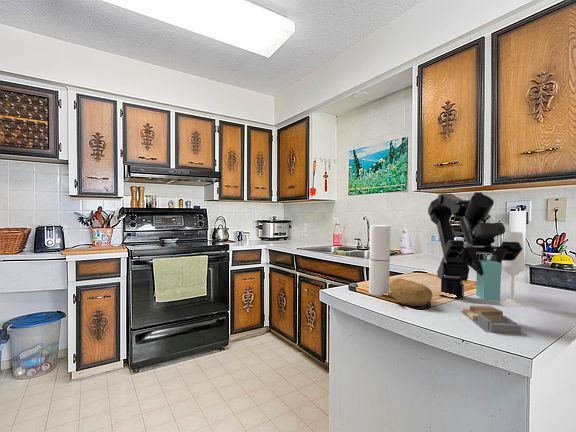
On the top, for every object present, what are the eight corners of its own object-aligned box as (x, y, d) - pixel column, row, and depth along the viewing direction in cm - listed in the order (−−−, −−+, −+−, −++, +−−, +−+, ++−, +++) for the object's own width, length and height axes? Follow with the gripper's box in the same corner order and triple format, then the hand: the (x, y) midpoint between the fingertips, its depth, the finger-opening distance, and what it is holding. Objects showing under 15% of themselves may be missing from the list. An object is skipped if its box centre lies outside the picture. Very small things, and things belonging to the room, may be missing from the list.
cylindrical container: (365, 292, 112) (366, 225, 111) (375, 289, 117) (376, 224, 116) (382, 297, 107) (384, 226, 106) (392, 293, 112) (394, 225, 111)
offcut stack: (462, 311, 90) (462, 303, 89) (492, 313, 88) (492, 305, 88) (472, 319, 83) (473, 311, 83) (505, 321, 81) (505, 313, 81)
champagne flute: (529, 306, 98) (531, 232, 98) (514, 308, 96) (516, 233, 96) (508, 300, 104) (510, 231, 104) (494, 302, 102) (495, 231, 102)
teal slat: (476, 295, 85) (477, 259, 85) (491, 296, 85) (492, 260, 85) (483, 299, 81) (484, 262, 81) (500, 300, 80) (501, 263, 80)
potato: (420, 314, 89) (421, 287, 89) (382, 302, 101) (382, 278, 101) (439, 309, 94) (440, 283, 94) (401, 297, 106) (401, 275, 106)
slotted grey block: (460, 314, 90) (460, 304, 90) (493, 316, 88) (494, 306, 88) (485, 335, 74) (486, 323, 74) (526, 339, 73) (527, 326, 73)
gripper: (448, 212, 88) (462, 255, 77) (519, 213, 85) (544, 258, 74) (438, 236, 96) (450, 279, 85) (503, 238, 93) (524, 283, 82)
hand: (490, 275), depth 81 cm, fingers closed on teal slat, 4 cm apart
